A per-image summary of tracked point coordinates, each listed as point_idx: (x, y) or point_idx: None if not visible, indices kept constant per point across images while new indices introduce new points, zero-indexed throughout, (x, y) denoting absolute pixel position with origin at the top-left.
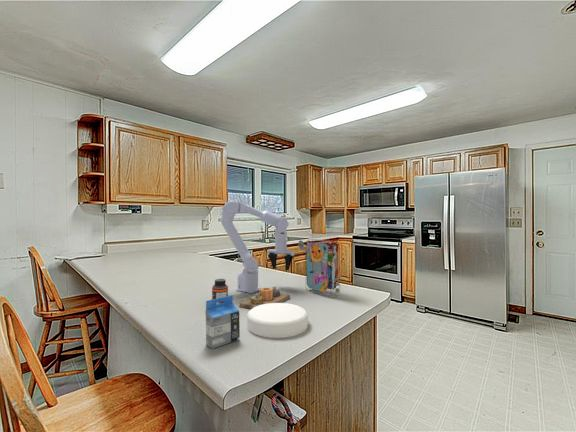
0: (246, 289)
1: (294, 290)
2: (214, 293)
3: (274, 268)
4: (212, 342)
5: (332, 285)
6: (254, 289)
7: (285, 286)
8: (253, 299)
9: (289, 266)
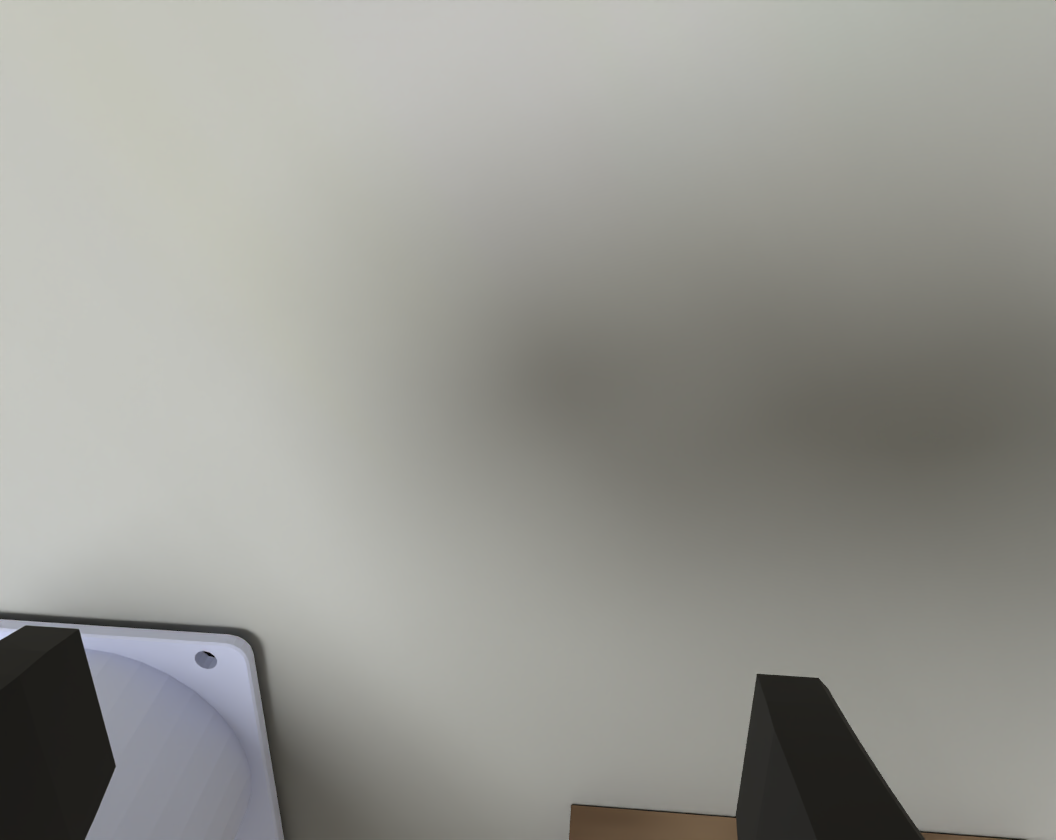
0: None
1: (916, 358)
2: None
3: (100, 721)
4: None
5: None
6: (238, 825)
7: (508, 124)
8: None
9: (886, 812)
